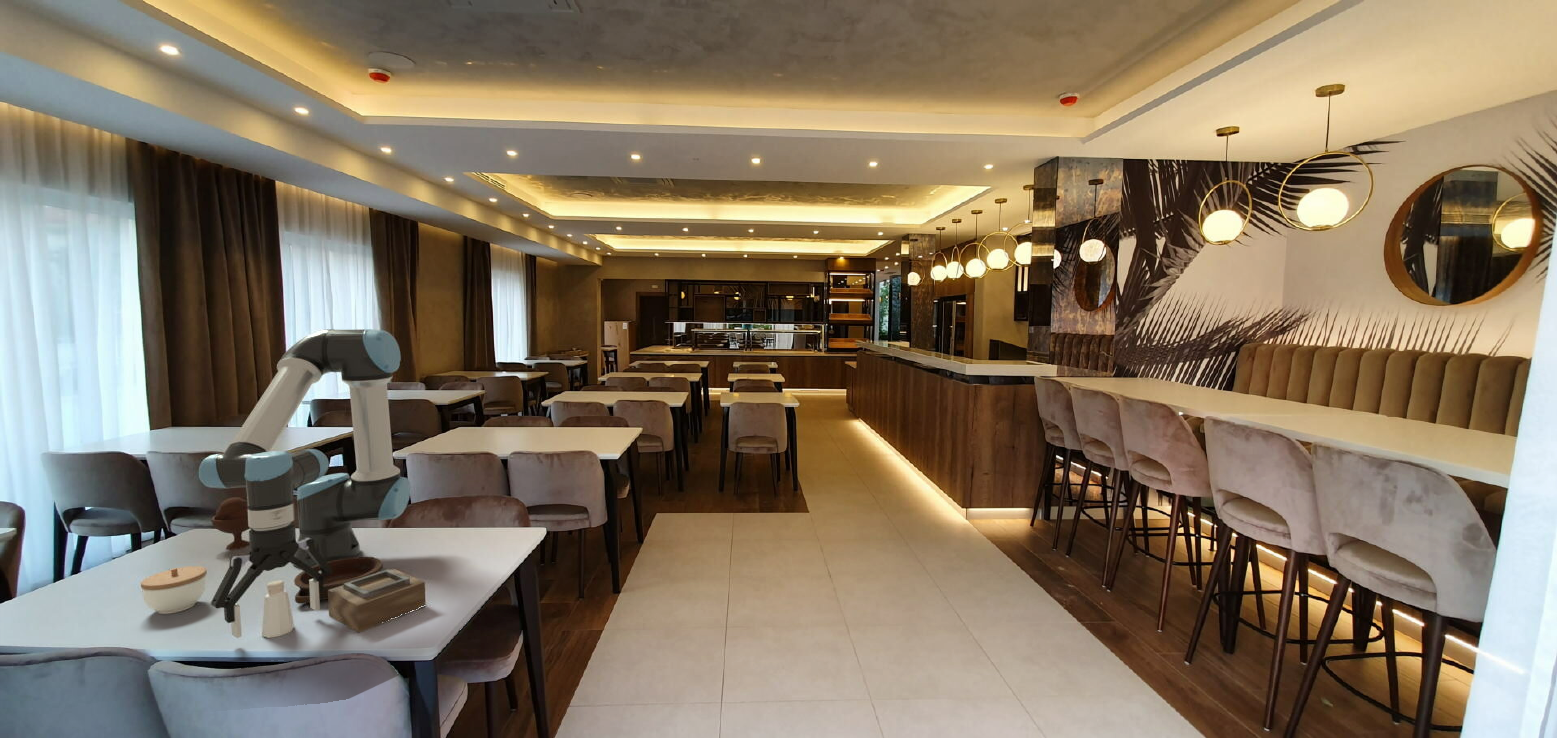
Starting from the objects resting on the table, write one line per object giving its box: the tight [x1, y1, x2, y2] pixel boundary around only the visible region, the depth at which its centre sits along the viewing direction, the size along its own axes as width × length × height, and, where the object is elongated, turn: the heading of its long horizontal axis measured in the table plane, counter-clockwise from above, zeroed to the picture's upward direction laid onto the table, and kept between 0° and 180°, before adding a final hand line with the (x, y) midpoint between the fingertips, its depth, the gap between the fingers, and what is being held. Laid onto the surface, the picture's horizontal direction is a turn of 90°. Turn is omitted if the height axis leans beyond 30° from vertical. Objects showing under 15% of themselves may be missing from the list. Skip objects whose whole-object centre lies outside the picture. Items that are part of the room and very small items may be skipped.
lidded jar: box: [140, 565, 208, 615], centre depth 138 cm, size 11×11×9 cm
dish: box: [293, 556, 384, 605], centre depth 149 cm, size 18×22×5 cm
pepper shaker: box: [261, 579, 295, 639], centre depth 128 cm, size 5×5×11 cm
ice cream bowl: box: [211, 496, 251, 550], centre depth 176 cm, size 11×11×15 cm
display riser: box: [327, 568, 427, 633], centre depth 137 cm, size 14×14×7 cm
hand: (277, 621), depth 128 cm, fingers open, 13 cm apart
